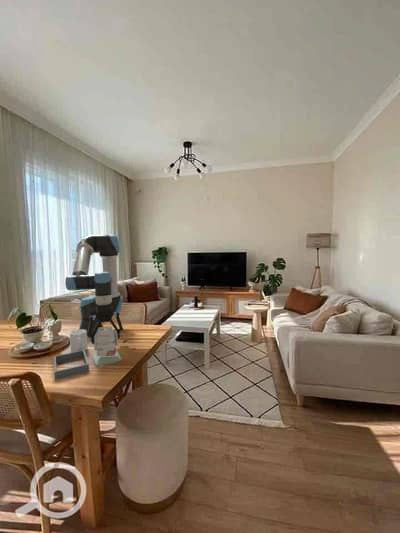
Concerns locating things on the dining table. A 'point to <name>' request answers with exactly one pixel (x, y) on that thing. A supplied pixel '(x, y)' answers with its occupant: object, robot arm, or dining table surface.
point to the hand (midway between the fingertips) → (106, 347)
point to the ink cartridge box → (105, 341)
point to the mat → (106, 359)
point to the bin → (73, 370)
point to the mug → (78, 340)
